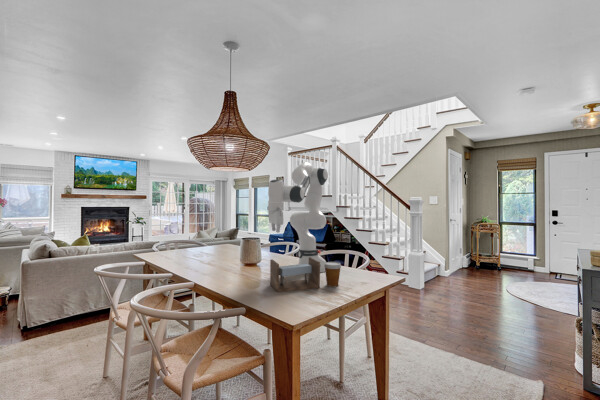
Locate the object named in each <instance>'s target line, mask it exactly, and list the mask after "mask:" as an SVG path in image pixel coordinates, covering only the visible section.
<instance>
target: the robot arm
mask: <svg viewBox="0 0 600 400" xmlns="http://www.w3.org/2000/svg"><path fill="white" fill-rule="evenodd" d="M328 175H329V174H328V170H327V169H326V168H324V167H313V165H312V164H311V163H309V162H307V161H306V162H301V163H300V164H299V165H298V166H296V167H295V168H294V169H293V171H292V173H291V179H292V181H293V182H294V184H296V185H285V183H284V181H283V180H282V179H271V180H270V181H269V182H268V190H267V191H268V192H267V193H268V195H267V196H268V201H267V202H268V205H267V213H268V223H270V224H271V231H273V232H275V233H280V231H281V226H282V225H283V224H284V212H283V211H284V209H285V207H284V206H285V205H284V203H296V204H297V203H301V202H302V201H303V200H304V199H305V200H304V203H303V204H304V207H305V208H306V209H307V212H301V211H299V212H295V213H292V214H291V215H290V218H289V223H290V226H292V228H293V229H294V230H295V231H296V233H297V236H298V243H299V249H298V264H309V257H311V258H313V259H315V260H317V261H319V262H320V273H324V272H325V266H324V265H325V263H326V262H327V261H326V259H324V258H323V257H322V256H321V255H319V254H321V253H322V251H321V250H319V249H317V244H316V243H317V239H316V236H314V235H313V234H312V233H311V232H310V231H309V230H321V229H324V227H326V225H327V218H326V216H325V214H324V213H322V211H321V202H322V198H323V194H324V193H323V190H324V188H323V186H324V185H325V183H326V182H327V180H328V178H329V176H328ZM305 195H306V196H305ZM308 211H309V212H308ZM298 264H297V265H298ZM325 273H326V272H325Z"/></svg>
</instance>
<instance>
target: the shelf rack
mask: <svg viewBox="0 0 600 400" xmlns="http://www.w3.org/2000/svg"><path fill="white" fill-rule="evenodd" d="M269 263H270V265H269V267H270V268H269V269H270V270H269V271H270V272H269V276H270V278H269V283H270V286H271V287H272V289H273V290H274V291H275V292H276V293H281V292H291V291H303V290H311V289H320V288H321V285H320V284H321V272H320V262H319V261H317V260H315V259H313V258H311V257H309V265H311V266H312V270H311V273H306V274H303V275H304V278H303V279H296V280H286V281H285V276H284V277H282V276H280V275H279V267H280V264H279V263H278V262H276V261H275V260H274V259H270V260H269Z"/></svg>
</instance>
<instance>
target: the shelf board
mask: <svg viewBox="0 0 600 400" xmlns="http://www.w3.org/2000/svg"><path fill="white" fill-rule="evenodd" d="M311 270H312V266H311V265H309V264H292V265H290V264H289V265H281V266H280V265H279V277H280V276H282V277H284V278H285V277H289V276H290V277H291V276H296V275H297V276H298V275H304V274H306V273H311Z"/></svg>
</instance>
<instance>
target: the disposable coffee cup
mask: <svg viewBox="0 0 600 400" xmlns="http://www.w3.org/2000/svg"><path fill="white" fill-rule="evenodd" d="M324 266H325V279H326V285H327V286H328V287H338V286H339V282H340V275H341V267H342V264H341V262H338V261H328V262H327V261H326V263H325V265H324Z"/></svg>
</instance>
